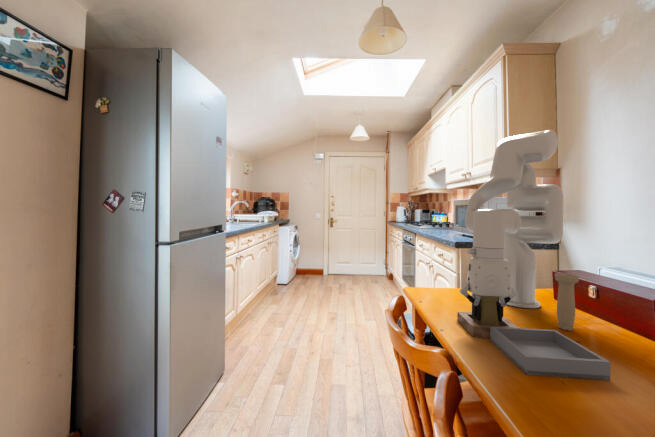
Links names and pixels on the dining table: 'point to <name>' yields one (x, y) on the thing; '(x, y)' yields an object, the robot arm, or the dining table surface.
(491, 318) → the cork
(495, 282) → the robot arm
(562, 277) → the handle
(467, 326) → the socket block
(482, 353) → the dining table surface
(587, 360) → the tray
